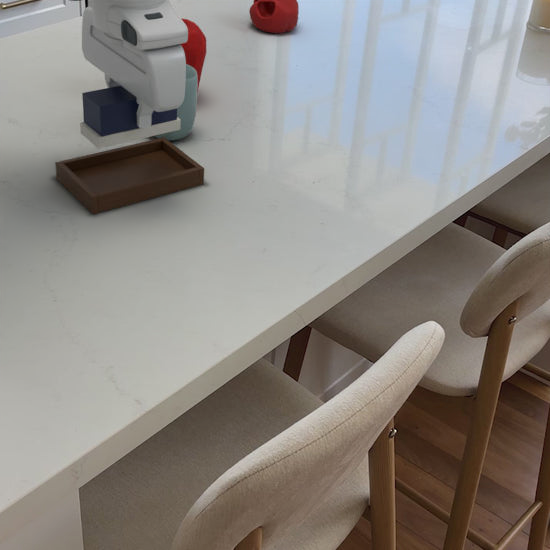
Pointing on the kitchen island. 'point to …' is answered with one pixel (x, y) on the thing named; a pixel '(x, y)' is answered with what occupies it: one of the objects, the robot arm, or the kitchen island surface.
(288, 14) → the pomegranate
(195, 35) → the apple
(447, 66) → the kitchen island surface
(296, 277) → the kitchen island surface
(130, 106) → the whiteboard eraser
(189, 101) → the cup
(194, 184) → the wooden tray
